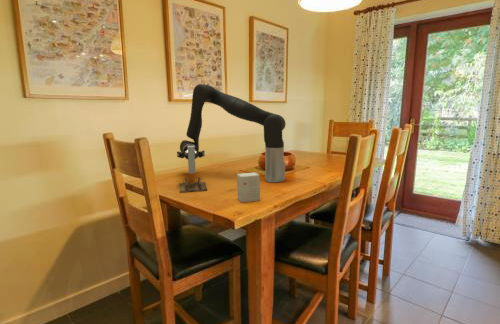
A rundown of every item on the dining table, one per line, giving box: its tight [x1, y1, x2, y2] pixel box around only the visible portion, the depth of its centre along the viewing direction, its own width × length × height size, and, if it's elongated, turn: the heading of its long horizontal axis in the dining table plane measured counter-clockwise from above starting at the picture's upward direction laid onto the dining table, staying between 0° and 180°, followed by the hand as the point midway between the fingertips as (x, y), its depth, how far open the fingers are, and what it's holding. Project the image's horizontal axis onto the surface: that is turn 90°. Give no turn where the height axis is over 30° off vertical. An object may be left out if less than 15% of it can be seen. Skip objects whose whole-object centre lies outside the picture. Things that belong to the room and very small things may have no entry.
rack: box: [179, 176, 208, 194], centre depth 136 cm, size 12×14×3 cm
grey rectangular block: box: [187, 145, 197, 174], centre depth 134 cm, size 3×6×12 cm, turn 13°
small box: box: [236, 171, 261, 203], centre depth 116 cm, size 8×6×10 cm
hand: (191, 156), depth 131 cm, fingers closed on grey rectangular block, 3 cm apart
